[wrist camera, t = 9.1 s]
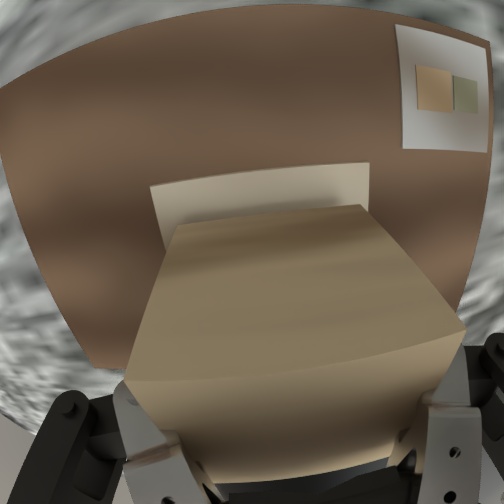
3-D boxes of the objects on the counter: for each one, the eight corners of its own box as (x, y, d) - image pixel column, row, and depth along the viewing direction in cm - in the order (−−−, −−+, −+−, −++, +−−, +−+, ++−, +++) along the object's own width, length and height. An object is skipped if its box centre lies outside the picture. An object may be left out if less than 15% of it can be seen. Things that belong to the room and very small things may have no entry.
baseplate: (5, 92, 8) (-13, 95, 7) (473, 42, 8) (492, 41, 7) (100, 354, 16) (93, 370, 15) (443, 311, 16) (452, 325, 15)
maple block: (177, 225, 9) (123, 380, 4) (359, 203, 9) (466, 329, 4) (211, 352, 12) (205, 482, 7) (348, 334, 12) (391, 455, 7)
